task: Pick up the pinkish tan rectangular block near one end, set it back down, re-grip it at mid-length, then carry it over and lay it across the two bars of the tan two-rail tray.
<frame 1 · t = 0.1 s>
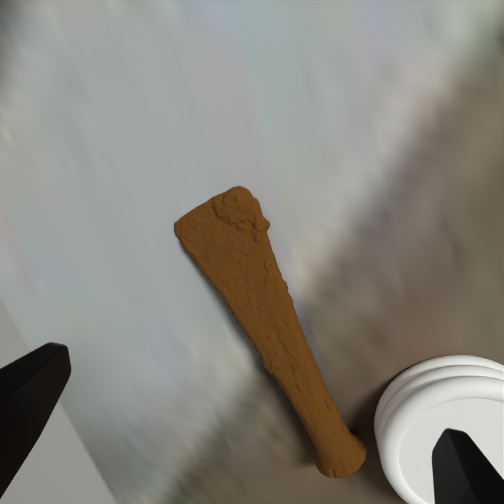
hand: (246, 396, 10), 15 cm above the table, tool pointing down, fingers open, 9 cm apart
primitive tool: (274, 327, 27), on the table
coaster: (451, 418, 27), on the table
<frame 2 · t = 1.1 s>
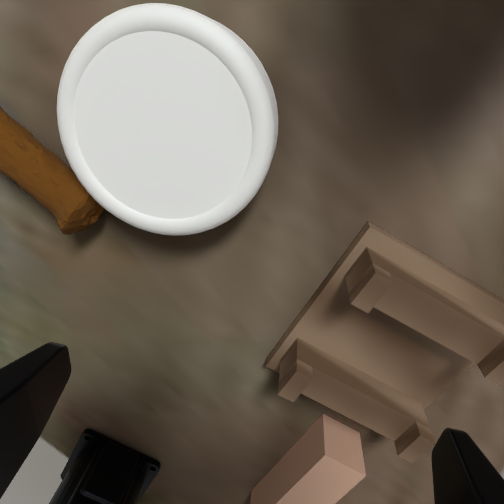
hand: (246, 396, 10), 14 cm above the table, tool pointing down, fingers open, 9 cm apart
pinkish tan rectangular block: (302, 460, 30), on the table
tan two-rail tray: (383, 334, 25), on the table
coaster: (183, 123, 21), on the table
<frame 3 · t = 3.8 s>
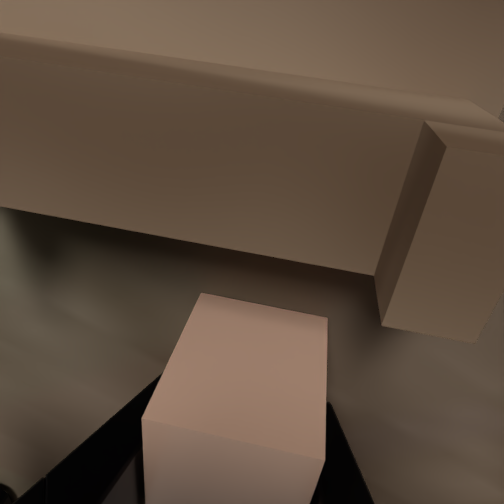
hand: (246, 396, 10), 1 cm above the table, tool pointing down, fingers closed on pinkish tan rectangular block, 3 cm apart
pinkish tan rectangular block: (242, 436, 12), on the table, touching gripper
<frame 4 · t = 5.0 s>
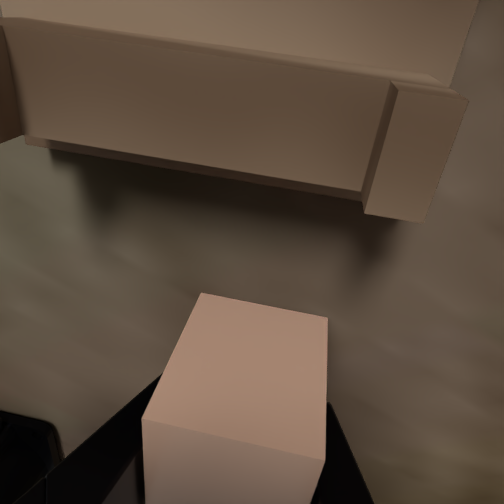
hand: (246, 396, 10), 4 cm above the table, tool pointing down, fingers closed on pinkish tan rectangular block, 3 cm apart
pinkish tan rectangular block: (242, 436, 12), point 3 cm above the table, touching gripper
when the fingers open (1 cm above the table, at t = 5.9 s): pinkish tan rectangular block stays where it is, on the table.
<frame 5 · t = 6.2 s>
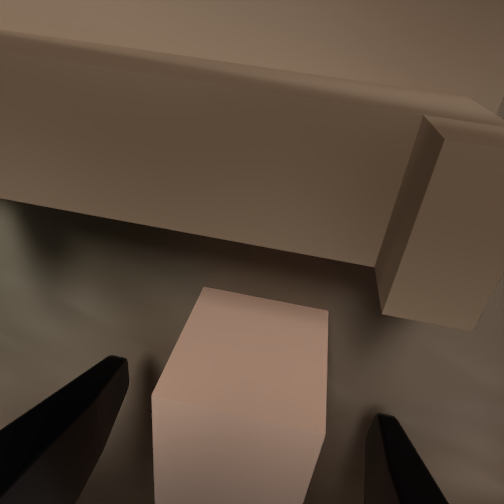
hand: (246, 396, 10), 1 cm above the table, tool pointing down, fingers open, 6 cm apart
pinkish tan rectangular block: (245, 423, 12), on the table
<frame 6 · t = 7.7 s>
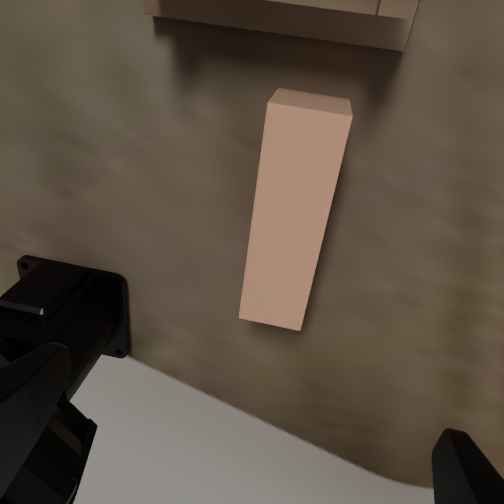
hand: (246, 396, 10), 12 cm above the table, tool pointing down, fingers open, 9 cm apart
pinkish tan rectangular block: (293, 200, 20), on the table
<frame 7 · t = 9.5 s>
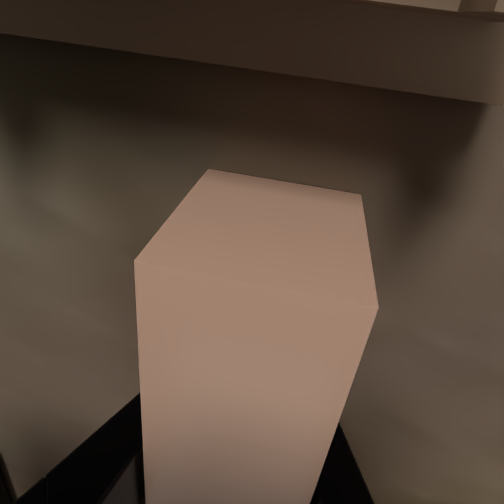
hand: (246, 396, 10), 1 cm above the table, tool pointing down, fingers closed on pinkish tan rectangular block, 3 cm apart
pinkish tan rectangular block: (253, 363, 10), on the table, touching gripper
when the fingers open (4 cm above the table, at t = 12.9 s): pinkish tan rectangular block stays where it is, resting on tan two-rail tray.
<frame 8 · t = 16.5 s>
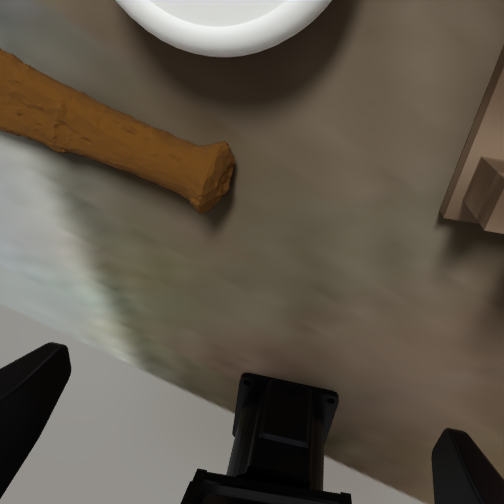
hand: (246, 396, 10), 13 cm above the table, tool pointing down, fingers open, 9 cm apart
primitive tool: (52, 108, 21), on the table
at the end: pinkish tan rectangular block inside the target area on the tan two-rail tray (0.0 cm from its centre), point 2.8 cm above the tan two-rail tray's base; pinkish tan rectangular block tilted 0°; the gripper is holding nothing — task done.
